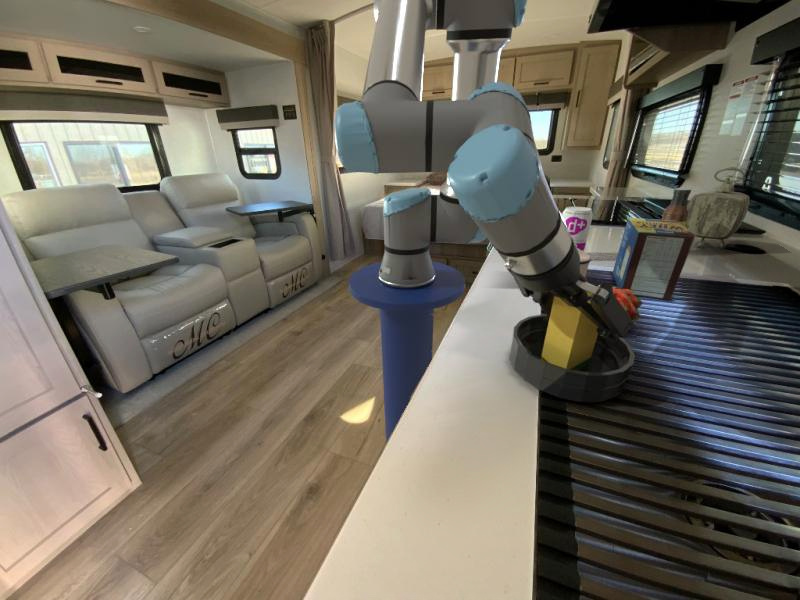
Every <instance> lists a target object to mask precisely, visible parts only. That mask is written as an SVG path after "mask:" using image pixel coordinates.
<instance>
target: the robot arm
mask: <svg viewBox="0 0 800 600" xmlns="http://www.w3.org/2000/svg"><path fill="white" fill-rule="evenodd" d="M527 2H528V0H373V15H374V19H375V27H374V33H373V38H372V44H371V48H370V52H369V60H368V64H367V68H366V75H365V79H364V84H363V89H362V95H361V100H355V101H352V102H343V103H342V104H341V105H339V106H338V107H337V108H336V109H337V110H336V112H335V116H334V140H335V141H334V142H335V148H336V151H337V156H338V158H339V159H338V160H339V162H340V163H341V165H342V167H343V168H344V169H345V170H347V171H348V172H353V173H367V174H374V175H379V174H406V173H407V174H409V173H410V174H411V173H412V174H413V173H446V181H444V183H442V184H441V185H440V187H439V194H432V192H431V191H432V190H431V189H430V188H428V187H414V188H408V189H401V190H397V191H393V192H391V193H388V194H387V195H385V197H384V199H383V209H382V210H383V211H382V217H383V237H384V239H383V240H384V242H383V243H384V244H383V245H384V253H383V256H382V260H381V262H382V263H381V267H380V270H379V281H380V282H381V283H382V284H383V285H385V286H387V287H390V288H394V289H403V290H411V289H419V288H423V287H426V286H429V285H430V284H432V283H433V282H434V280H435V271H434V268H433V265H432V258H431V255H430V243H437V244H438V243H442V244H465V245H466V244H467V245H469V244H472V243H473V244H474V243H475V244H479V243H482V242H483V241H485V240H486V239H487V240H488V241H489V242H490V244H491V245H492V247H493V248H494V250H495V251H496V252H497V253H498V255H499V256H500V258H502V260H503V261H504V267H505V268H506V270H507V271H508V272H509V273H510V275H512V277H513V279H514V282H515V283H516V285H517V287H518V289H519V291H520V293H521V295H522V296H523V297H524V298H527V299H528V298H529V297H530V298H532V301H533V303H535V304H538V305H539V307H540V308H541V310H542V311H543V313H544V314H546V315H547V316H548V317H549V319H550V314H551V309H552V305H553V300H554V296H555V297H559V298H560V299H561V300H563V301H564V302H565V303H566V304H567V305H568V306H571V307H576V308H577V309H578V310H579V311H581V312H582V313H583V314H584V315H585V316H586V317H587V318H588V319H590V320H591V321H592V322H593V323H594V324H595V325H596V326H597V327H598V328H597V330H596V331H597V332H598V334H599V336H600V338H601V340H602V342H603V344H604V345H605V347H606V348H609V349H611V348H612V346H613V345H614V343H615V342H616V340H617V339H618V338H619V337H620V338H623V339H624V337H625V336H626V335H627V333H628V332H629V331H630V329H631V328H630V327H631V326H632V324H633V323H634V322H635V321H634V320H632V319H631V318H630V316H629V315H628V314H627V312H626V311H625V309H624V308H623V307H622V305H621V304H620V302H619V301H618V300H617V298H616V297H615V295H614V294H613V287H614V286H613V285H611V284H610V283H608V282H601V284H598V285H594V284H592V283H590V282H588V279H587V276H586V277H584V276H583V275H582V274H581V273H580V256H579V253H578V250H577V248H576V246H575V244H574V241H573V239H572V237H571V235H570V232H569V229H568V227H567V225H566V223H565V221H564V219H563V217H562V212H561V211H560V209H559V207H558V205H557V204H556V201H555V199H554V196H553V194H552V192H551V189H550V187H549V183H548V181H547V179H546V176H545V172H544V170H543V166H542V162H541V157H540V153H539V150H538V147H537V146H536V141H535V136H534V132H533V127H532V126H533V125H532V119H531V114H530V111H529V109H528V107H527V103H526V102H525V100H524V98H523V96H522V95H521V93H520V92H519V90H518V89H517V88H516V87H514V85H511V84H509V83H506V82H503V81H498V77H499V76H498V75H499V68H500V60H501V59H500V58H501V53H502V51H503V49H505V47H506V46H507V45H508V44H509V43H510V42H511V40H512V34H513V28H514V29H516V28H518V27H520V26H521V25H522V23H523V21H524V19H525V16H526V15H525V14H526V7H527ZM433 30H436V31H441V30H444V31H446V35H445V36H446V37H445V38H446V39H445V43H446V44H447V46H448V47H449V49H450V50H451V51H452V53H453V61H452V62H453V63H452V77H451V78H452V80H451V96H450V97H451V98H450V99H447V100H445V99H444V100H422V97H423V95H422V94H423V80H424V79H423V78H424V77H423V76H424V63H425V62H424V61H425V60H424V59H425V41H426V32H427V31H433ZM571 297H572V298H571Z"/></svg>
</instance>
